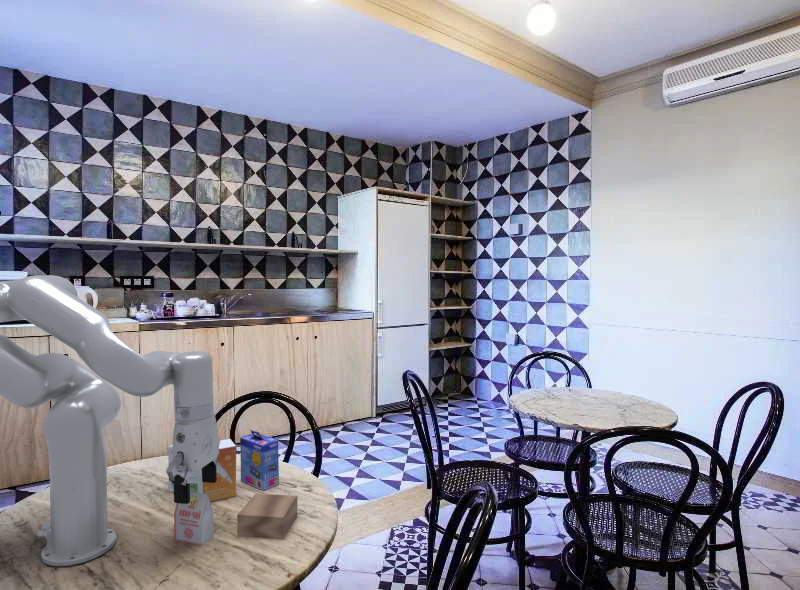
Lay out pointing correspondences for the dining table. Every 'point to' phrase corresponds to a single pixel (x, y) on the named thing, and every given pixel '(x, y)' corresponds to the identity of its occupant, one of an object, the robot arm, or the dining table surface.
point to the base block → (267, 516)
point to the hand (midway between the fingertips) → (196, 492)
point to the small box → (221, 474)
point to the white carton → (194, 520)
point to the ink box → (192, 478)
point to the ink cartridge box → (259, 460)
